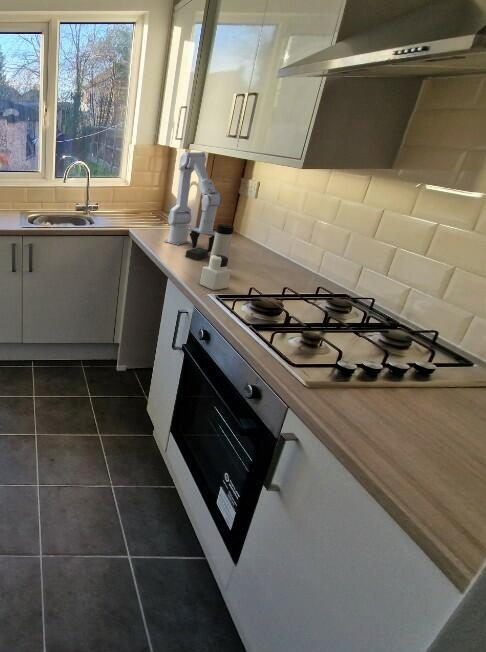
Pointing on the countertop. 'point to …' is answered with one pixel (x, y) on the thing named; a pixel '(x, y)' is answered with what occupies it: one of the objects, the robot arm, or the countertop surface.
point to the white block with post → (216, 273)
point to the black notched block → (195, 254)
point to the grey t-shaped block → (203, 250)
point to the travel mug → (222, 240)
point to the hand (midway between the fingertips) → (201, 249)
